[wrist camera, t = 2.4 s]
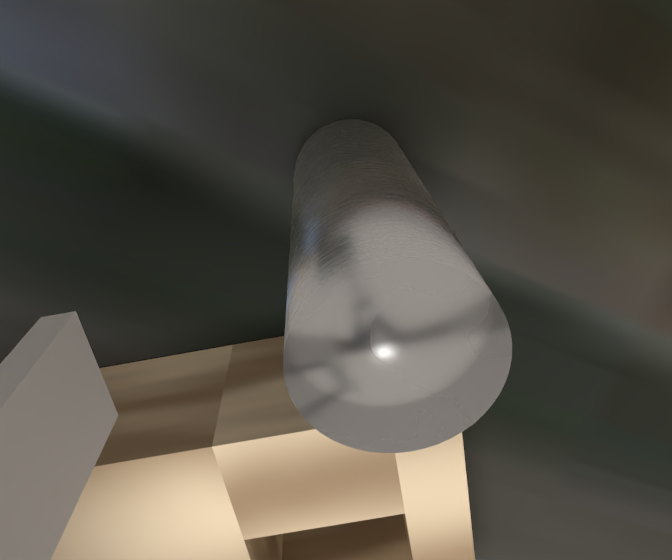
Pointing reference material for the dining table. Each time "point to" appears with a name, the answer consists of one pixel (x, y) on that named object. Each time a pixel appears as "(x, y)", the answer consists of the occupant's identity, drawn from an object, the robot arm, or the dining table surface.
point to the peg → (383, 301)
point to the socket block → (254, 474)
